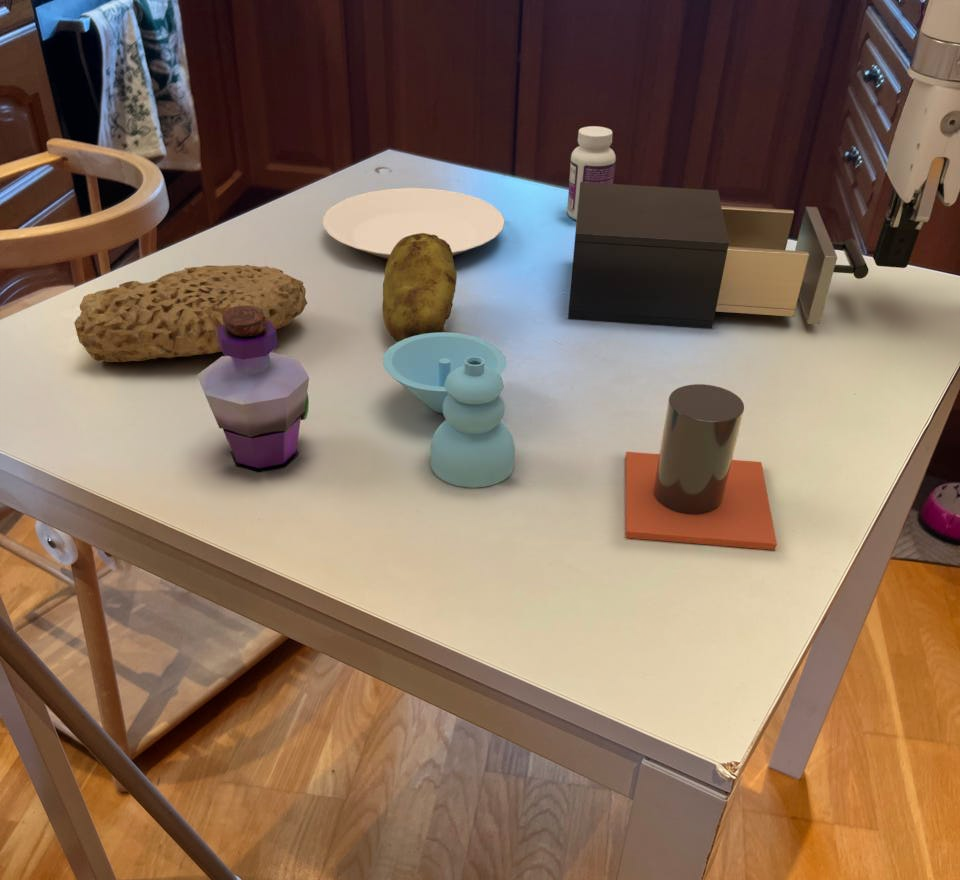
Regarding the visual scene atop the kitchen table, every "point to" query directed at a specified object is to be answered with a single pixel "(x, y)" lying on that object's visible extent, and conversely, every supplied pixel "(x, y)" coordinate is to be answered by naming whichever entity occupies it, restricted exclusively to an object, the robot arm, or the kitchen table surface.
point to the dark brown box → (647, 255)
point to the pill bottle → (590, 163)
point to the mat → (728, 525)
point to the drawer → (780, 263)
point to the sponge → (181, 311)
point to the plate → (412, 219)
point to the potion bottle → (256, 391)
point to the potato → (418, 286)
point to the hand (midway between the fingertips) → (889, 263)
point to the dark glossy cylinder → (697, 448)
